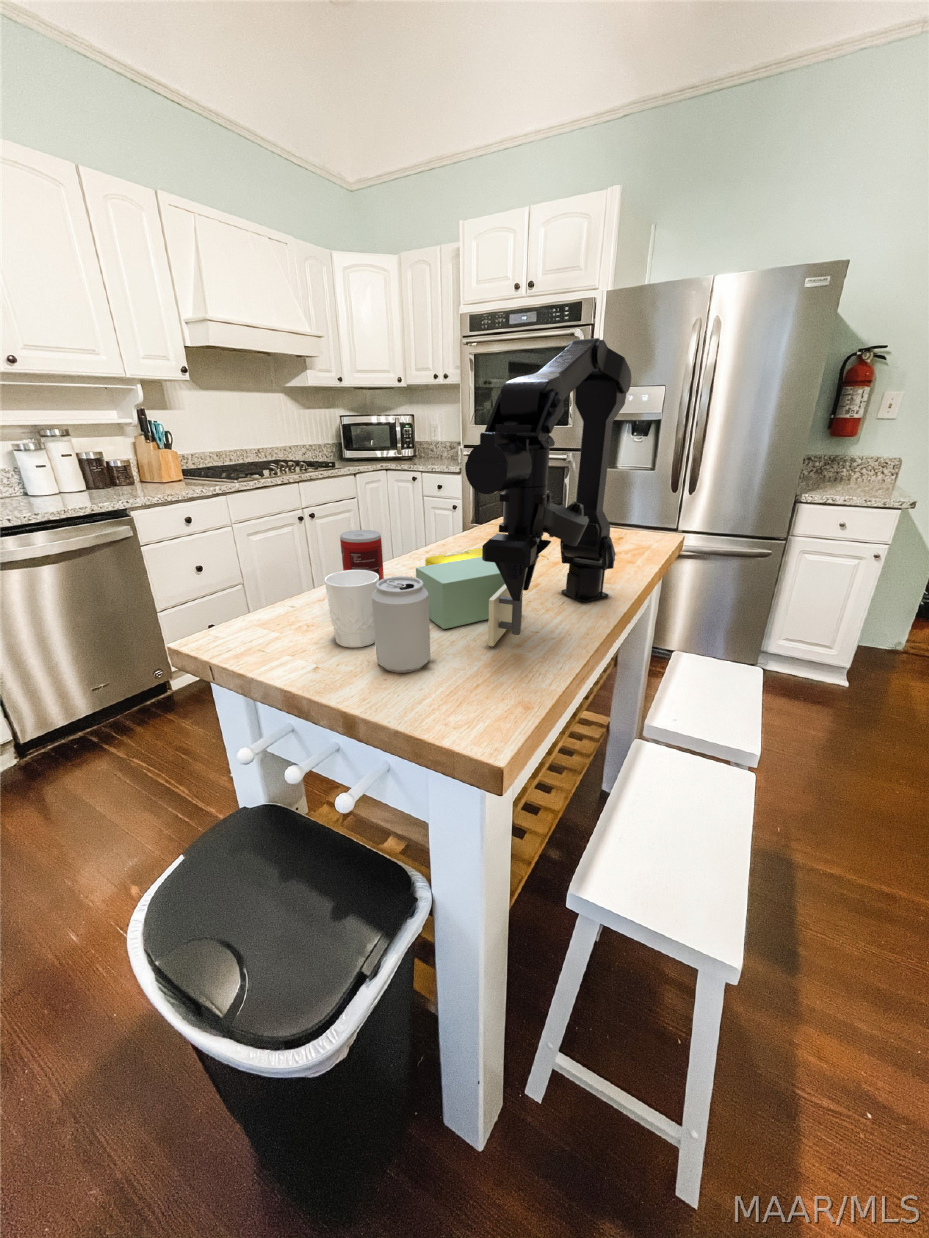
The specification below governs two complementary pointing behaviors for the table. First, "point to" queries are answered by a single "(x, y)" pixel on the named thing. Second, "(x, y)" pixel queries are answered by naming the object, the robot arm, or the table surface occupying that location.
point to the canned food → (362, 551)
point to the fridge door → (503, 615)
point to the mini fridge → (460, 590)
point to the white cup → (352, 606)
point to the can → (401, 623)
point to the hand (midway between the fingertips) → (520, 595)
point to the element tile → (453, 556)
